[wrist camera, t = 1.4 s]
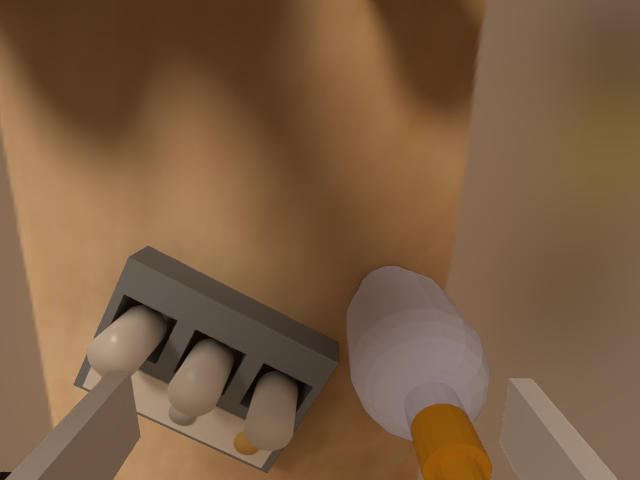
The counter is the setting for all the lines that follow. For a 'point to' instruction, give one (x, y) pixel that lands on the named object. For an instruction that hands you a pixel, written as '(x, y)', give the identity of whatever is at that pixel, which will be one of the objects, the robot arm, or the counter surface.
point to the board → (225, 326)
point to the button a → (127, 341)
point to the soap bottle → (420, 370)
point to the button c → (272, 412)
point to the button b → (201, 378)
